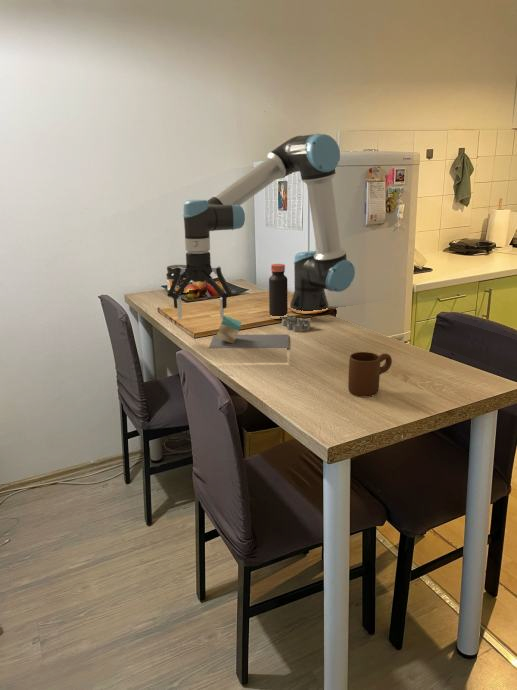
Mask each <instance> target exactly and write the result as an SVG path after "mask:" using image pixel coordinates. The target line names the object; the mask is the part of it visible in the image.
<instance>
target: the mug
mask: <svg viewBox="0 0 517 690" xmlns="http://www.w3.org/2000/svg"><path fill="white" fill-rule="evenodd" d="M348 360H349V361H348V382H347V384H348V385H347V386H348V388H347V389H348V391H349V393H350V394H351V395H353V396H355V395H357V396H356V397H359V396H371V397H373V396H372V395H374V396H375V394H376V395H377V394H378V393H379V391H380V377H381V375H383V374H384V373H386V372H387V371H389V370H390V368H391V367H392V361H393V360H392V356H391V355H390V354H388V353H381V354H380V355H378V354H376V353H373V352H368V351H360V352H353V353H352V354H350V355H349V359H348ZM383 361H385V362H384V364H383V365H382V366H381V363H382V362H383Z"/></svg>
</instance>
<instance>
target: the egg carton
mask: <svg viewBox="0 0 517 690" xmlns="http://www.w3.org/2000/svg"><path fill="white" fill-rule="evenodd" d="M280 318H281V319H282V320H281V326H285V327H286V329H287V330H290V331H291V330H292V331H293V332H295V333H298V332H299V333H301V332H303V331H310V330H311V322H312V321H313V319H312V318H311V317H309V318H301V317H300V318H299V317H296V316H294V315H293V316H291V315H290V316H288V317H280Z"/></svg>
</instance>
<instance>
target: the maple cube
mask: <svg viewBox="0 0 517 690" xmlns="http://www.w3.org/2000/svg"><path fill="white" fill-rule="evenodd" d="M221 320H222V321H221V322H220V323H221V324H220V326H219V329H218V332H217V333H216V335H217V336H216V338H219V339H222V340H224V341H227V342H230V343H232V344H234V342H235V339H236V337H237V335H239V332H240V329H241V325H242V321H240V320H237V319H235V318H232V317H230V316H228V315H224V317H223V319H221Z"/></svg>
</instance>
